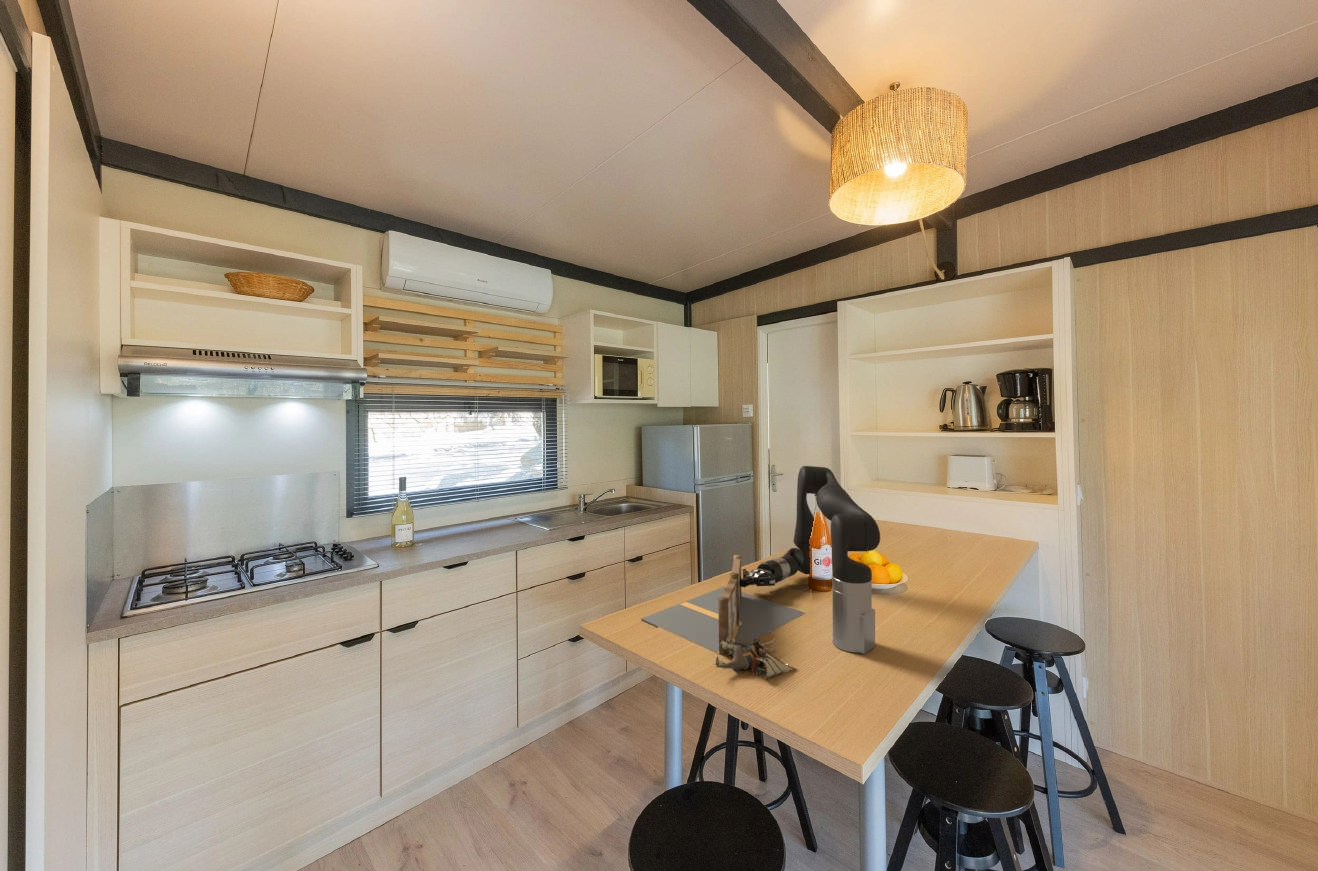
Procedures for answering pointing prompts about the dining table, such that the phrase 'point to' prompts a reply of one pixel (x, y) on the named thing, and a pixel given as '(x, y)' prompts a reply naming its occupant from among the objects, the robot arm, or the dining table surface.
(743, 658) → the figurine
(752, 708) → the dining table surface
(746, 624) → the card
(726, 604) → the post
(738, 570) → the fence gate
